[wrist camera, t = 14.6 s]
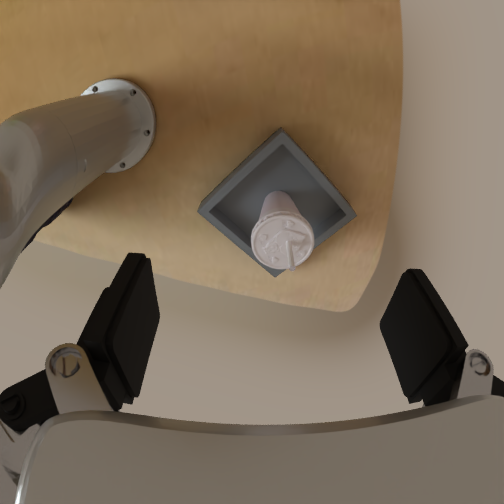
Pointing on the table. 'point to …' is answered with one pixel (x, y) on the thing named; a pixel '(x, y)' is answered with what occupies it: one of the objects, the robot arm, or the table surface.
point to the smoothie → (281, 233)
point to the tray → (267, 181)
